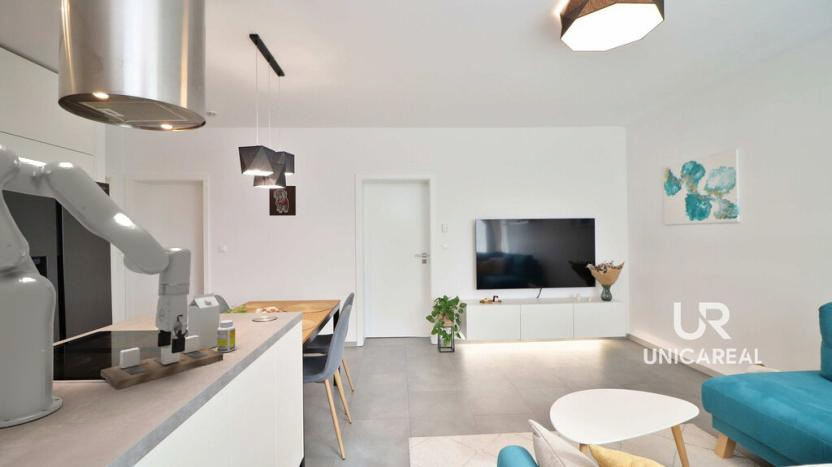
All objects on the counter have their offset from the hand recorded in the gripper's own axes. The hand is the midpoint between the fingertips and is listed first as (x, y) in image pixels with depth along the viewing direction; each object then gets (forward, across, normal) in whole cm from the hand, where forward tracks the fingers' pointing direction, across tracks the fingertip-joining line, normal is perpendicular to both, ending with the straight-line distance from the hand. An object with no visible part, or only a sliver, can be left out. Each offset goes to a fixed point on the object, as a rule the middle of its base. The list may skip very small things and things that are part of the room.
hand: (170, 349), depth 103 cm
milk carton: (+7, -18, +17) cm, 26 cm away
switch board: (+7, -6, +1) cm, 10 cm away
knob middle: (+5, -3, +1) cm, 6 cm away
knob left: (+5, -9, -7) cm, 13 cm away
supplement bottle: (+6, -8, +20) cm, 23 cm away
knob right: (+4, -9, +9) cm, 14 cm away
